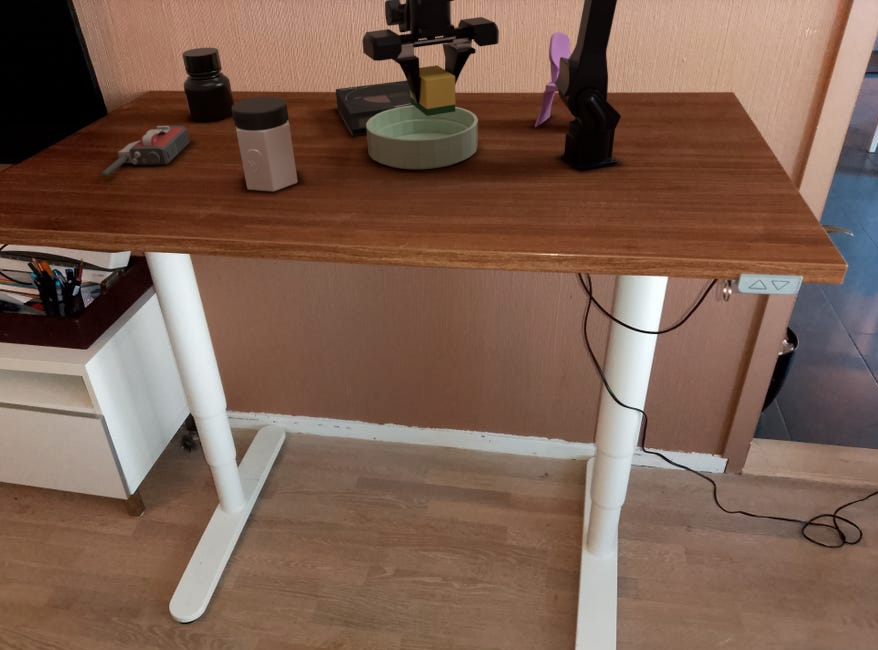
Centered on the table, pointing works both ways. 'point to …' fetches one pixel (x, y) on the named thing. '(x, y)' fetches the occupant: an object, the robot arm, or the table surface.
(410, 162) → the bowl
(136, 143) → the walkie-talkie
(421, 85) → the sponge
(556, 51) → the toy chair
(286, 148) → the jar
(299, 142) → the table surface
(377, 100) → the portable cd player
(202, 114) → the ink bottle
